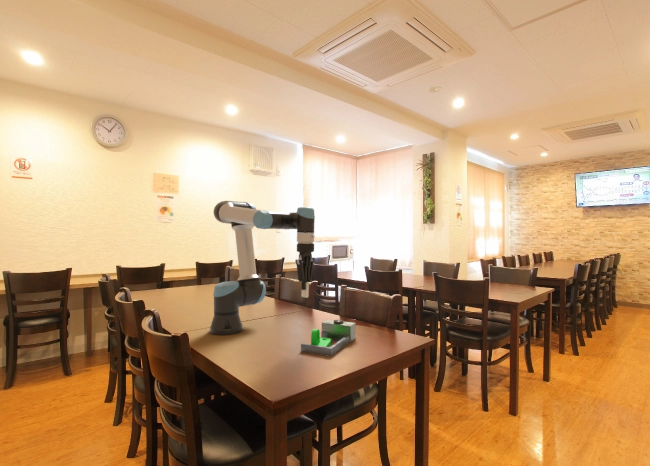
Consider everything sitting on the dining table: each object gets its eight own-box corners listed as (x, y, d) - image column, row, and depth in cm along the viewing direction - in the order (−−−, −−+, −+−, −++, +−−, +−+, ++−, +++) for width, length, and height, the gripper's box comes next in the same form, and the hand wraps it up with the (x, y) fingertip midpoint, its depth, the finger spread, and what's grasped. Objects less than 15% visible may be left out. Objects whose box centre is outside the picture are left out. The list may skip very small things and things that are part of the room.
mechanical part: (325, 352, 136) (325, 332, 136) (311, 350, 137) (311, 330, 137) (332, 342, 147) (332, 324, 147) (319, 341, 149) (319, 323, 149)
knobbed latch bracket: (300, 351, 136) (300, 331, 136) (327, 334, 159) (327, 317, 159) (332, 356, 130) (332, 336, 130) (355, 338, 153) (355, 321, 153)
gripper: (305, 243, 140) (304, 300, 141) (320, 242, 152) (319, 295, 152) (290, 243, 144) (289, 298, 144) (305, 242, 156) (305, 293, 156)
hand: (305, 296), depth 148 cm, fingers closed
